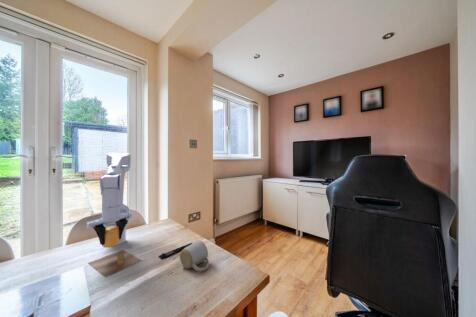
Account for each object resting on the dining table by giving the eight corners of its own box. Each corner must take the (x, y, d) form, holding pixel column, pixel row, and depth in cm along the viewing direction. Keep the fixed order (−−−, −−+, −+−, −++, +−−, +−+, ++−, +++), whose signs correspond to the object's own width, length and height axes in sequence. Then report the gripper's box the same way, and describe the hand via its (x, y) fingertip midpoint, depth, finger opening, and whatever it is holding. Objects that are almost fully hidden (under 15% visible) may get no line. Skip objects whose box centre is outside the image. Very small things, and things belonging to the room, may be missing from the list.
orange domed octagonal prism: (100, 245, 69) (100, 229, 69) (115, 240, 73) (115, 225, 73) (106, 248, 66) (106, 232, 66) (120, 243, 70) (121, 227, 70)
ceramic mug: (178, 266, 67) (178, 245, 67) (195, 256, 74) (195, 237, 74) (197, 277, 61) (198, 254, 61) (214, 265, 68) (214, 245, 68)
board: (87, 267, 66) (87, 252, 66) (122, 253, 76) (123, 240, 76) (105, 282, 58) (105, 265, 58) (142, 264, 68) (142, 249, 68)
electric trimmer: (195, 250, 80) (195, 243, 80) (160, 265, 68) (160, 257, 68) (190, 248, 82) (190, 241, 82) (156, 262, 70) (156, 253, 70)
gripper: (92, 212, 61) (91, 252, 61) (135, 203, 74) (135, 237, 73) (84, 209, 65) (84, 246, 65) (127, 201, 77) (126, 233, 77)
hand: (110, 241), depth 70 cm, fingers closed on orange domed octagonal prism, 5 cm apart
